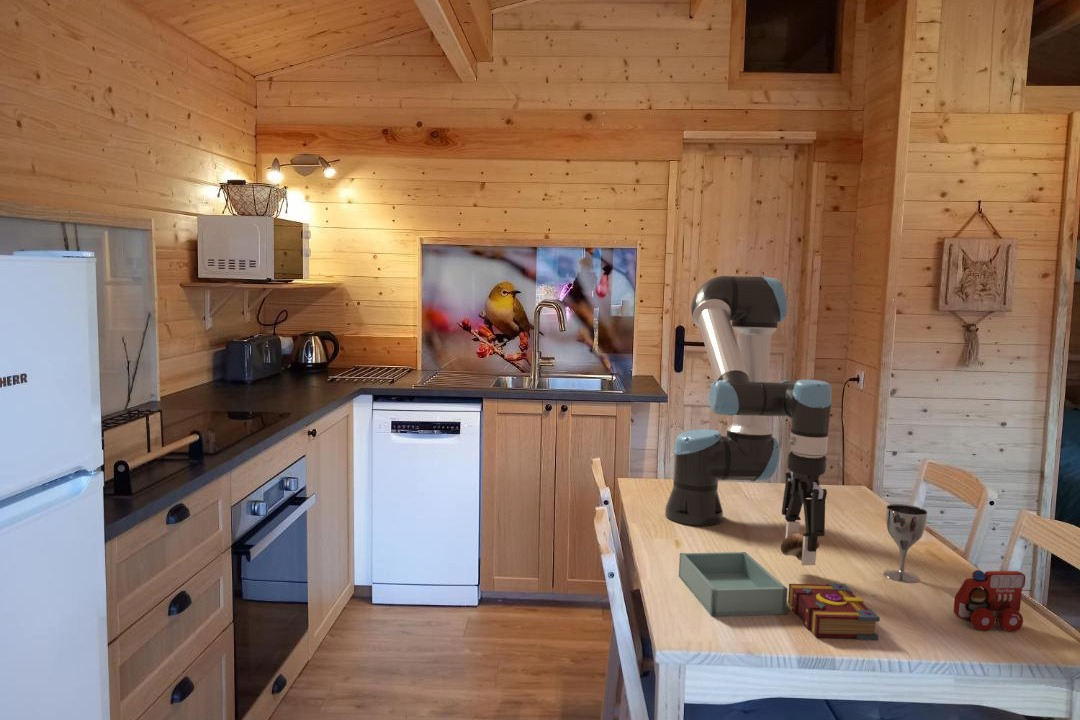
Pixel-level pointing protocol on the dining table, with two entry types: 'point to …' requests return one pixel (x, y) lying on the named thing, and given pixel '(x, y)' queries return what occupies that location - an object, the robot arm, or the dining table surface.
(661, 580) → the dining table surface
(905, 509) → the wine glass
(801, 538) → the mushroom
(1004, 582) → the toy fire truck
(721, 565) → the open rectangular box
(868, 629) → the decorative book
